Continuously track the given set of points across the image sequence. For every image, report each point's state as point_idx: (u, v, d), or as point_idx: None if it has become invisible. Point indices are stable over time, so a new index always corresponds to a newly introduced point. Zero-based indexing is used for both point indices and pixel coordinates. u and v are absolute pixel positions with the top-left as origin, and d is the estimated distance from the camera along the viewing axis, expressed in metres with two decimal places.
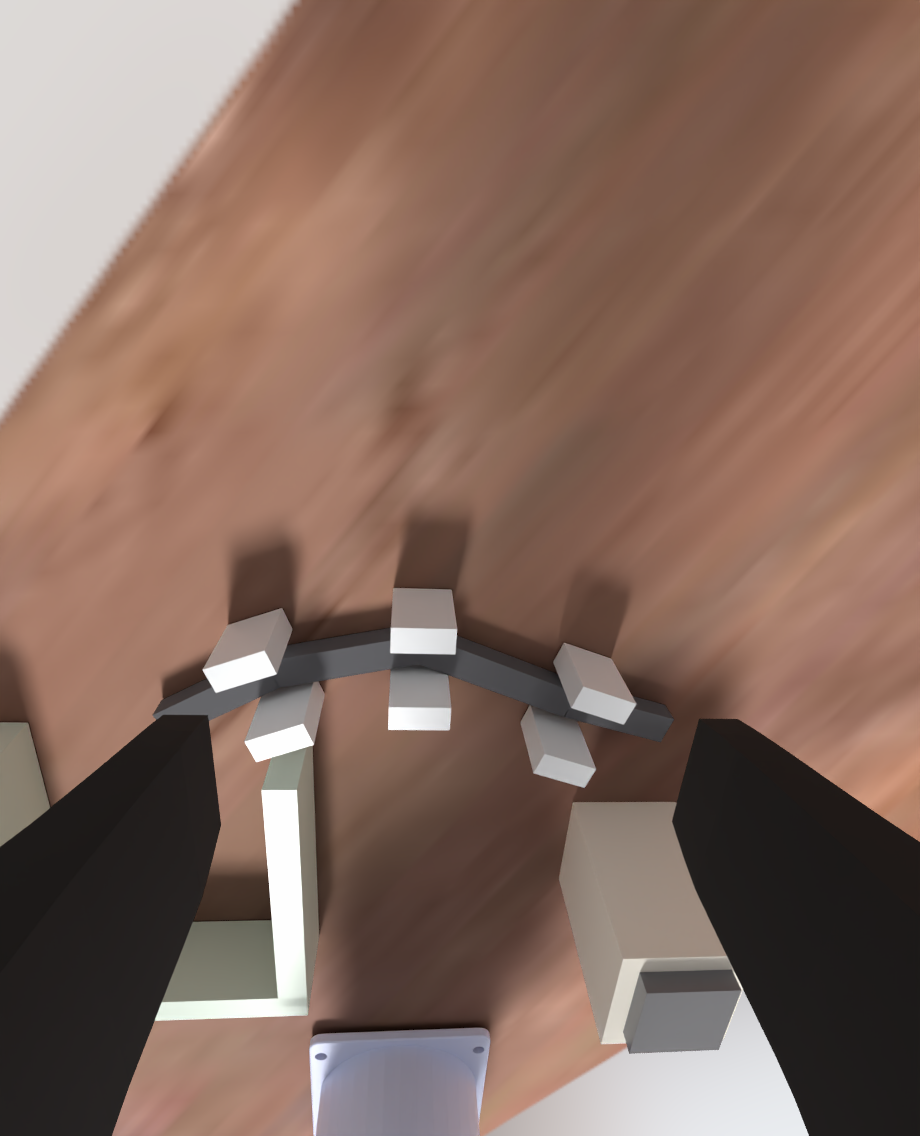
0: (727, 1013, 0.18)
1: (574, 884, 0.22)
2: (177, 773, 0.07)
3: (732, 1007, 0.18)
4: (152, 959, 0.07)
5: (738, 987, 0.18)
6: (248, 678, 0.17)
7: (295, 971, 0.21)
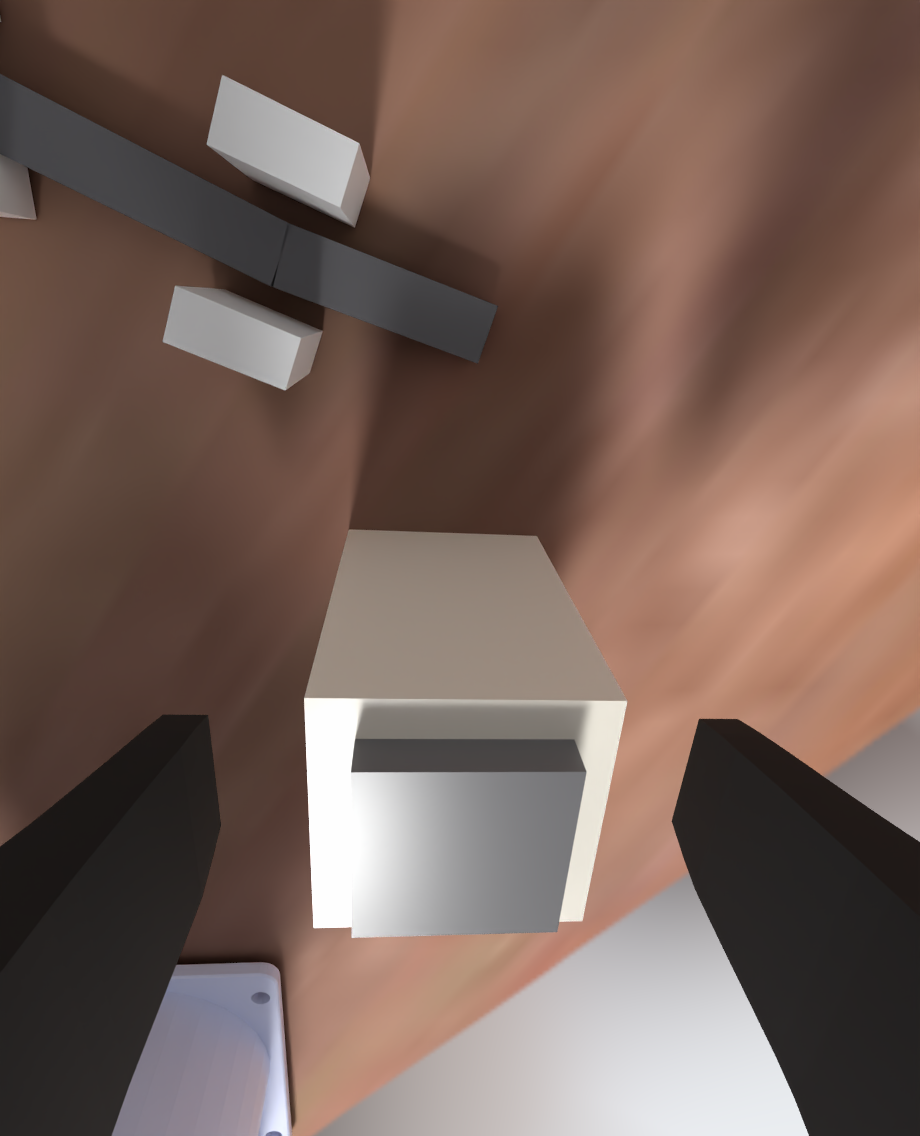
0: (562, 837, 0.08)
1: None
2: (177, 773, 0.07)
3: (572, 820, 0.08)
4: (152, 958, 0.07)
5: (581, 767, 0.07)
6: None
7: None
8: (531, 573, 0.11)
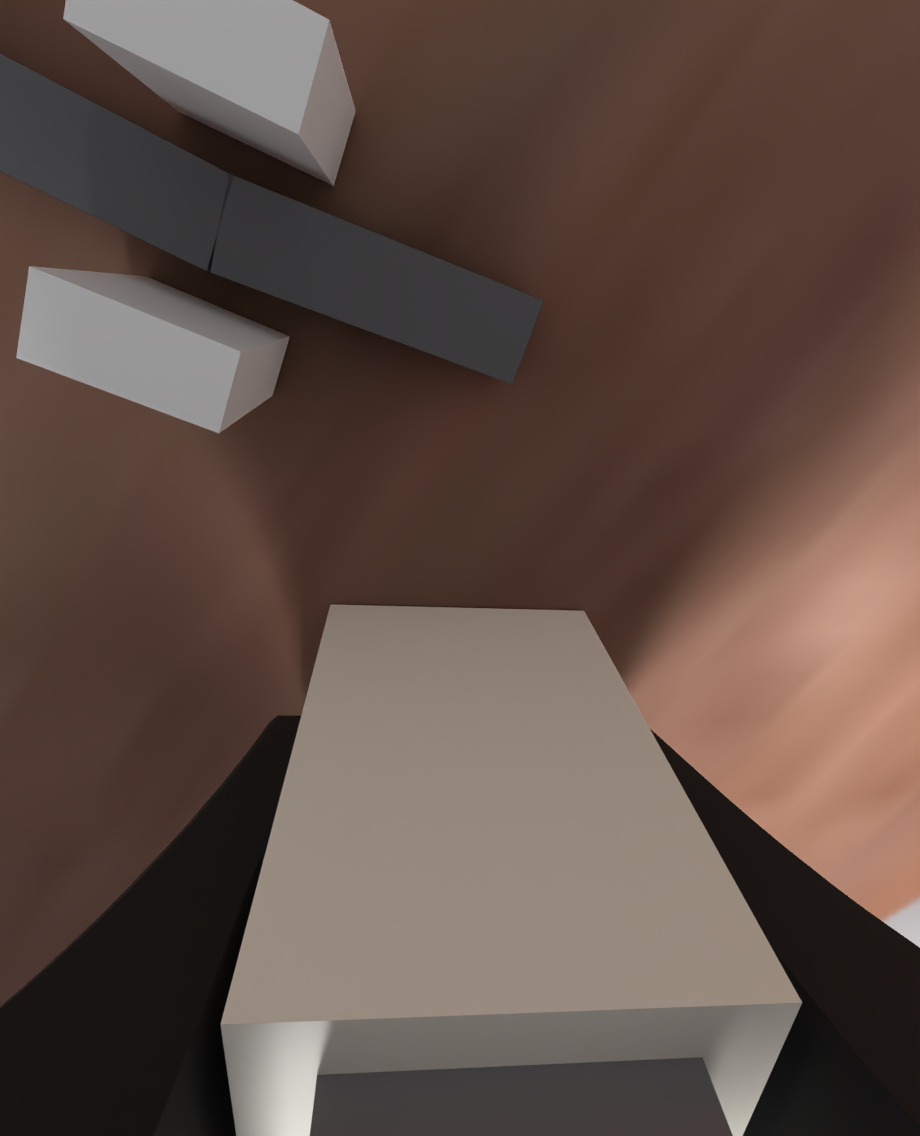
0: None
1: None
2: None
3: None
4: None
5: None
6: None
7: None
8: (588, 683, 0.08)
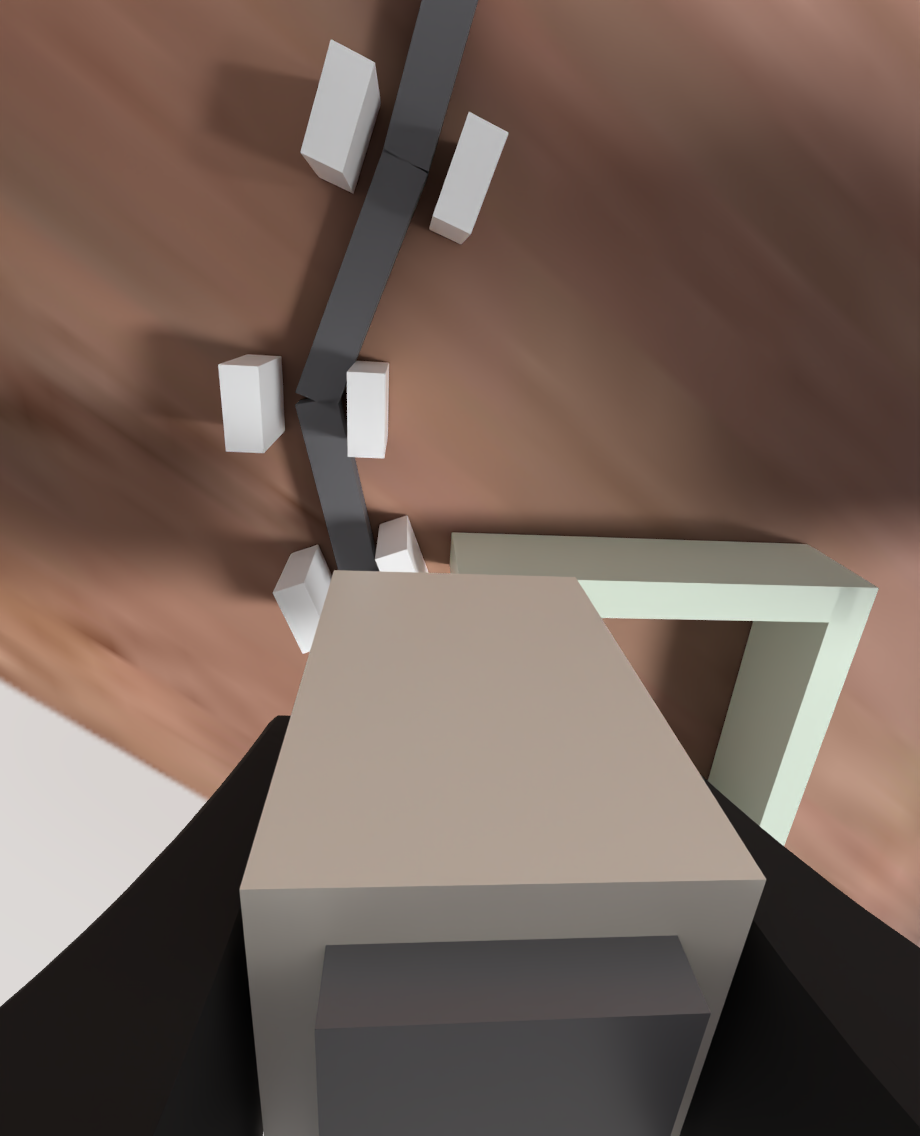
0: (662, 1100, 0.05)
1: None
2: None
3: (680, 1078, 0.05)
4: None
5: (699, 1001, 0.04)
6: (311, 611, 0.15)
7: (782, 598, 0.15)
8: (578, 635, 0.08)
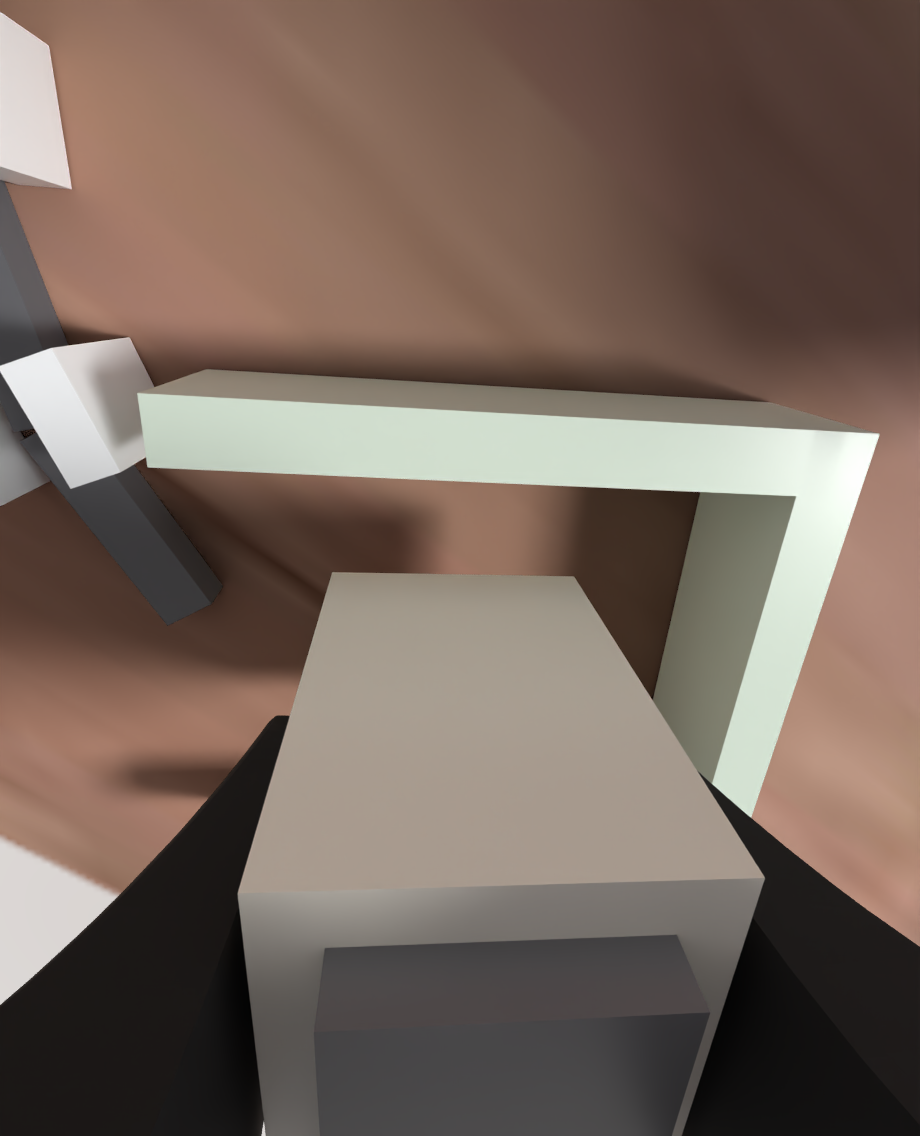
0: (663, 1100, 0.05)
1: None
2: None
3: (680, 1078, 0.05)
4: None
5: (698, 1000, 0.04)
6: None
7: (716, 449, 0.09)
8: (576, 635, 0.08)
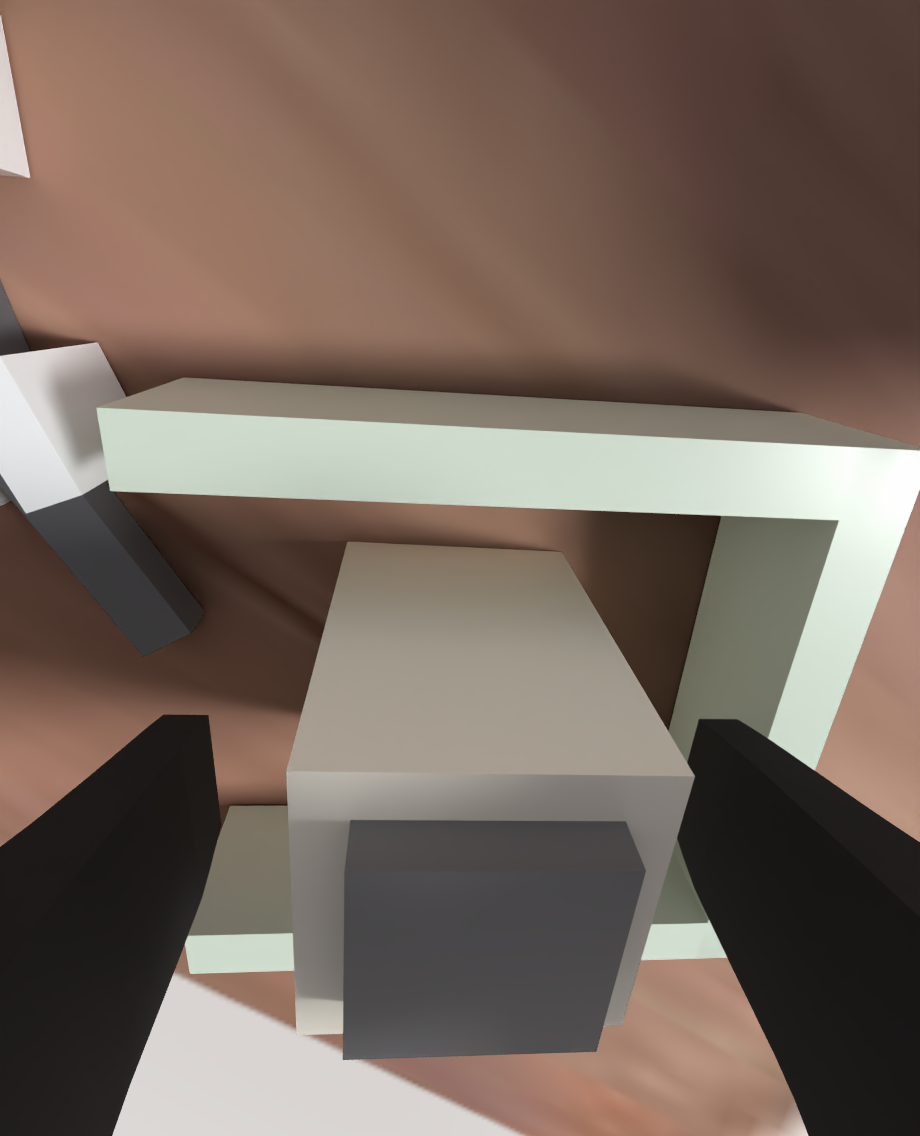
0: (610, 946, 0.06)
1: None
2: (177, 773, 0.07)
3: (623, 927, 0.06)
4: (152, 958, 0.07)
5: (637, 863, 0.06)
6: None
7: (751, 468, 0.08)
8: (560, 599, 0.10)
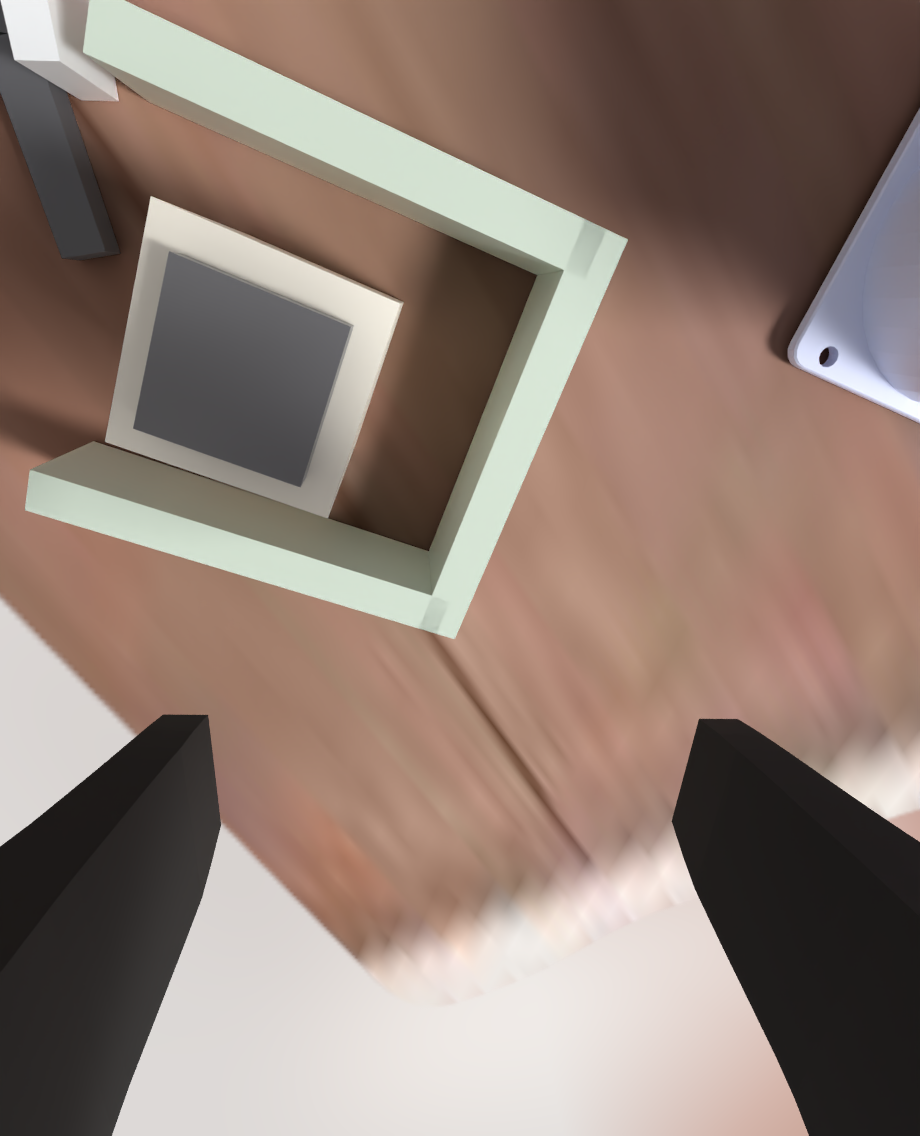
0: (322, 388, 0.10)
1: None
2: (176, 773, 0.07)
3: (332, 373, 0.10)
4: (152, 957, 0.07)
5: (348, 325, 0.10)
6: None
7: (513, 207, 0.12)
8: (382, 293, 0.14)
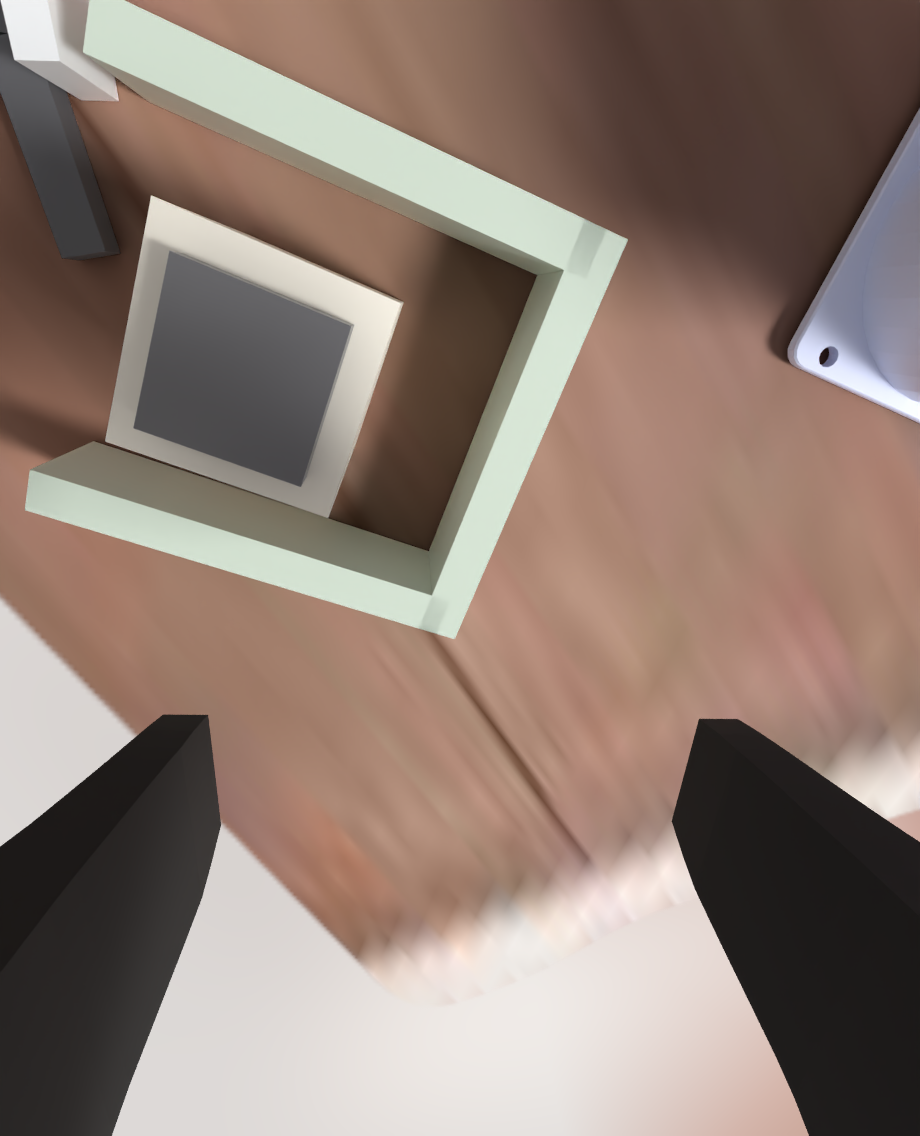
0: (322, 387, 0.10)
1: None
2: (176, 773, 0.07)
3: (332, 373, 0.10)
4: (152, 957, 0.07)
5: (349, 325, 0.10)
6: None
7: (513, 207, 0.12)
8: None
